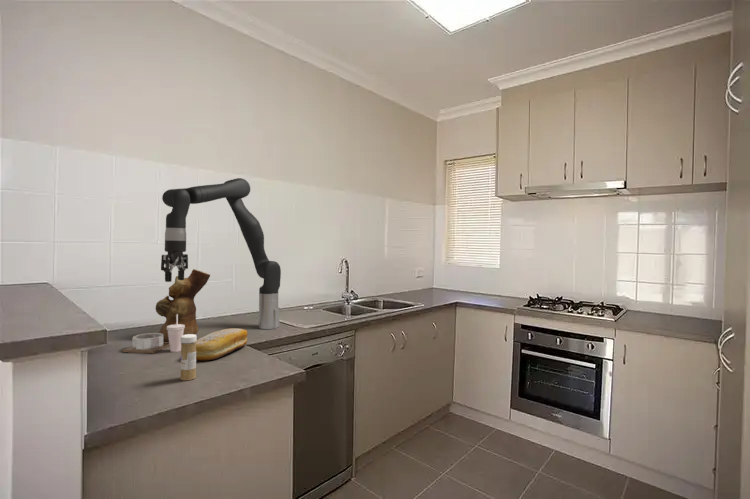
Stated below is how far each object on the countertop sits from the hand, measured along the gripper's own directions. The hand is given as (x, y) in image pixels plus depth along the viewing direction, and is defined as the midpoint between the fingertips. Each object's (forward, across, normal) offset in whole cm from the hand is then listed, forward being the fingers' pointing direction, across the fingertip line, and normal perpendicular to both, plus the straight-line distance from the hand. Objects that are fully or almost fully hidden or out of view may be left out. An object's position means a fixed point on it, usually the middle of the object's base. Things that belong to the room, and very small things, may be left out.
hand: (174, 280), depth 153 cm
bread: (+27, -2, -20) cm, 34 cm away
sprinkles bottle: (+27, -31, -24) cm, 47 cm away
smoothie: (+27, -2, -2) cm, 27 cm away
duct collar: (+27, -1, +10) cm, 29 cm away
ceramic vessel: (+27, +19, +7) cm, 34 cm away
